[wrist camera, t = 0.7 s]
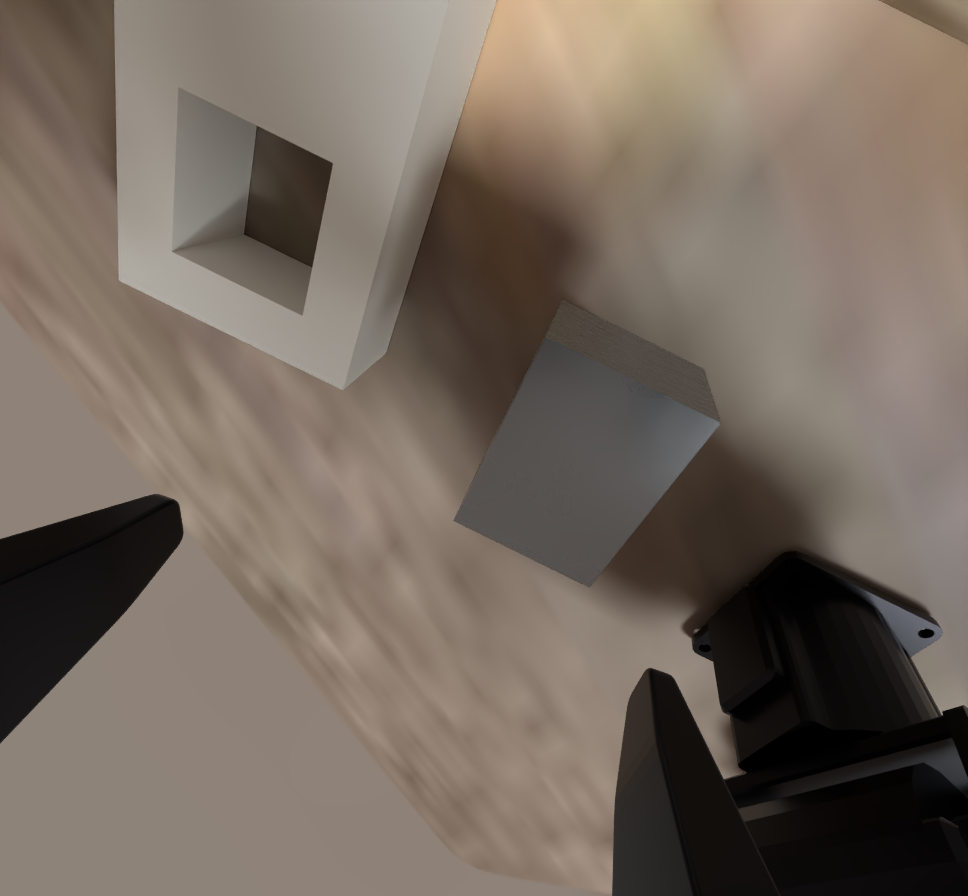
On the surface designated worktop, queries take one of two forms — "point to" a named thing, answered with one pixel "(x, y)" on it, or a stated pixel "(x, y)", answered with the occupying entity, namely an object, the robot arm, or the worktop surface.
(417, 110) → the dock
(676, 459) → the gray rectangular block
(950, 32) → the frame
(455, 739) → the worktop surface
